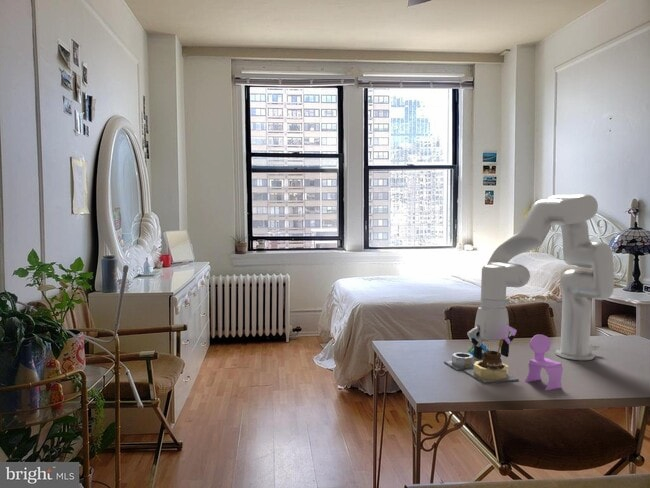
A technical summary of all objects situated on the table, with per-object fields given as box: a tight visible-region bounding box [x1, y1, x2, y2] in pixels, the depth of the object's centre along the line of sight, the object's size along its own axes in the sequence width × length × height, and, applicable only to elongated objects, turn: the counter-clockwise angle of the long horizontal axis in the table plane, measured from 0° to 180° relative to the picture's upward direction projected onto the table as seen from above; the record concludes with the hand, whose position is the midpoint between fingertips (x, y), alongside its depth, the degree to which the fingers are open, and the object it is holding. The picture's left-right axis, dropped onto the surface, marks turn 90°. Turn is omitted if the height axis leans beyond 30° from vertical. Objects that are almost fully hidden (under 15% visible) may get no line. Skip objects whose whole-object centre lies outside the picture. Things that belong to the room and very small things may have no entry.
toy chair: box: [524, 334, 564, 391], centre depth 158 cm, size 8×9×15 cm
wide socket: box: [463, 360, 520, 385], centre depth 165 cm, size 12×12×4 cm
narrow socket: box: [444, 352, 475, 372], centre depth 176 cm, size 9×9×4 cm
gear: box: [467, 336, 490, 356], centre depth 189 cm, size 11×6×10 cm
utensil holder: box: [481, 339, 503, 369], centre depth 165 cm, size 6×6×12 cm
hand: (491, 356), depth 165 cm, fingers open, 9 cm apart
